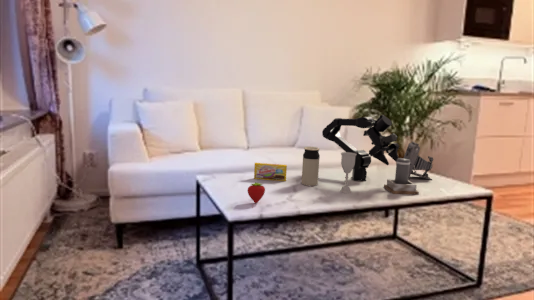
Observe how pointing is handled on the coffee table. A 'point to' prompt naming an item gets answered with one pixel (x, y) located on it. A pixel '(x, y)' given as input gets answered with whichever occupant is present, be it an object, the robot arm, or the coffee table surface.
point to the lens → (402, 171)
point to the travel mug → (310, 166)
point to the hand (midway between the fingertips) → (393, 163)
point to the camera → (417, 161)
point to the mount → (401, 187)
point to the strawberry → (256, 191)
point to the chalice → (347, 168)
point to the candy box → (270, 171)
